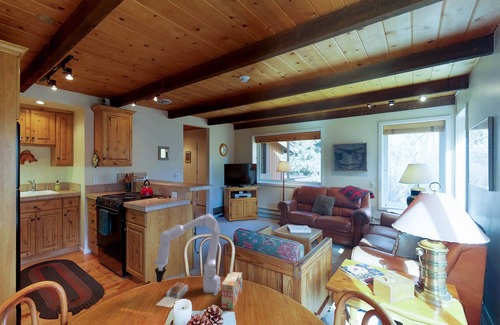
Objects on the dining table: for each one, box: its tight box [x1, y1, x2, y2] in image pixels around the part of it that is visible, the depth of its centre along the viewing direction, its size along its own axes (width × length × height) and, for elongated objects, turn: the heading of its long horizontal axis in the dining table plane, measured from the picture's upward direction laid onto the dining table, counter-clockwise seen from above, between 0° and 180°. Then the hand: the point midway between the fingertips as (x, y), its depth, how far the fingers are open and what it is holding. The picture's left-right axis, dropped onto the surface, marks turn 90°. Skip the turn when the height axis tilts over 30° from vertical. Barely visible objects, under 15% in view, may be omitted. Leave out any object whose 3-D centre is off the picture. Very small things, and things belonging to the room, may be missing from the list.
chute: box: [155, 284, 190, 308], centre depth 124 cm, size 9×18×4 cm, turn 167°
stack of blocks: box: [220, 271, 243, 310], centre depth 126 cm, size 21×6×12 cm, turn 169°
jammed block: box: [171, 281, 185, 294], centre depth 129 cm, size 5×5×4 cm
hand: (159, 278), depth 125 cm, fingers open, 7 cm apart
